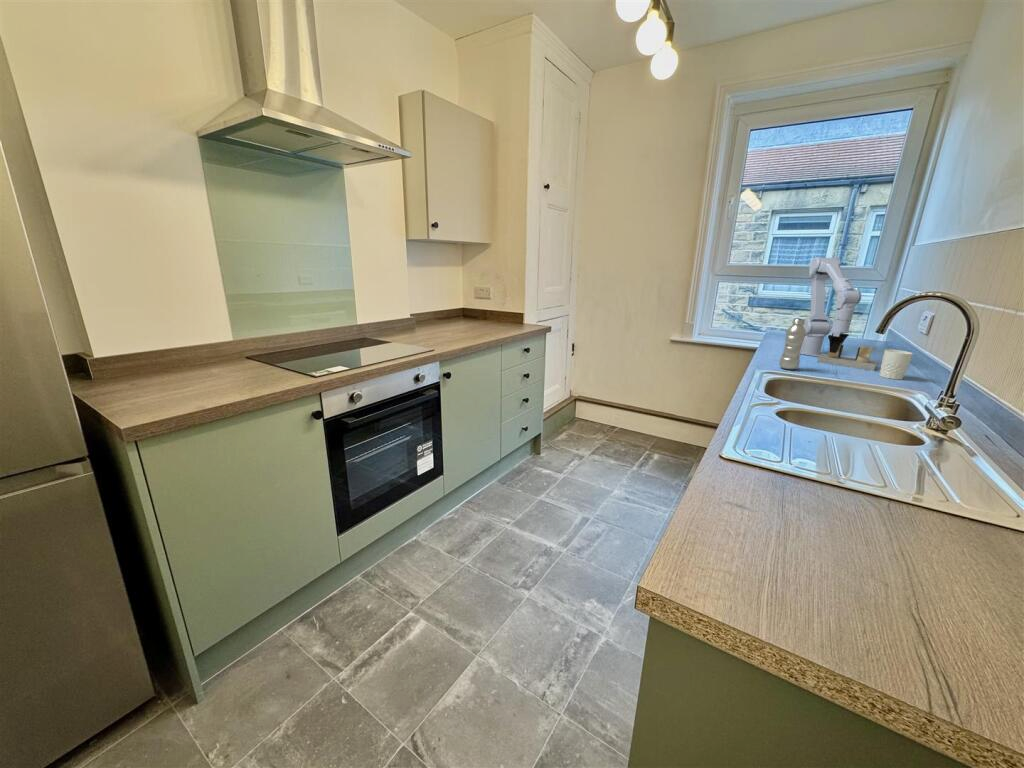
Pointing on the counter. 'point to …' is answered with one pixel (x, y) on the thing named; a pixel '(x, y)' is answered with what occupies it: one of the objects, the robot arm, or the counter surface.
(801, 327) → the plastic bottle
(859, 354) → the tan upright block
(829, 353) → the loose finger
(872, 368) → the rail
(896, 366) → the white cup
